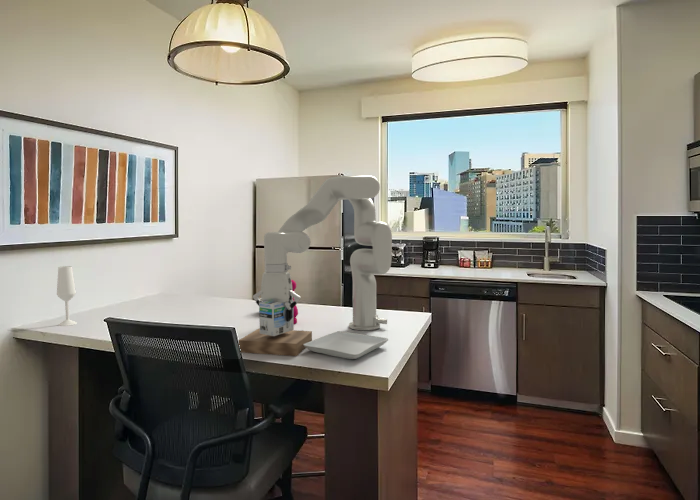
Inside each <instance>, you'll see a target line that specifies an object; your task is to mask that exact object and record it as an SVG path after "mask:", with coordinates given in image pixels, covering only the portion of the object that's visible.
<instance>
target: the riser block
mask: <svg viewBox="0 0 700 500" xmlns="http://www.w3.org/2000/svg"><path fill="white" fill-rule="evenodd" d="M310 341H313V331H311V330H291V331H288V332H285V333H282V334H279V335H276V336H270V335H265V334H260V327H259V328H258V329H256V330H254V331H252V332H250V333H249V334H247V335H245V336H243V337H242V338H240V339H238V346H239V345H240V349H241V352H240V353H248V354H257V355H258V354H260V355H263V354H264V355H272V356H273V355H274V356H275V355H276V356H291V357H298V356H299V355H300V354H301V353H302V352H303V351H304V350H305V349H306V348H305V347H304V345H303V344H305V343H308V342H310Z"/></svg>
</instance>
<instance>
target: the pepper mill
mask: <svg viewBox="0 0 700 500" xmlns="http://www.w3.org/2000/svg"><path fill="white" fill-rule="evenodd" d="M291 282H292V290H293V292H294V293H296V289H297V282H296V281H295V280H294V279H291ZM293 302H294V297H293ZM293 313H294V314H293V315H294V325H296V324H297V323H298V319H297V317H298V314H299V310H298V307H297V304H296V305H295V306H294V308H293Z"/></svg>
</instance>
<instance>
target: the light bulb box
mask: <svg viewBox="0 0 700 500" xmlns="http://www.w3.org/2000/svg"><path fill="white" fill-rule="evenodd" d="M290 301H291V303H293V299H292V300H290ZM286 310H287V307H286V305H285V304H284V303H282V302H269V301H263V302H259V306H258V311H259V313H258V315H259V317H258V318H259V320H258V321H259V328H260V334H265V335H270V336H276V335H279V334H282V333H285V332H288V331H291V330H294V327H295V326H294V325H295V324H294V315H293V317H292V319H291V320H290V321H289V322H287V321H286ZM292 313H293V308H292ZM293 314H294V313H293Z"/></svg>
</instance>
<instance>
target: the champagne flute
mask: <svg viewBox="0 0 700 500" xmlns="http://www.w3.org/2000/svg"><path fill="white" fill-rule="evenodd" d="M74 277H75V276H74V270H73V266H70V265H67V266H66V265H63V266H58V267H57V283H56V284H57V285H56V286H57V287H56V295H57V297H58V298H59V299H61V300H62V301H64V303H65V306H64V307H65V309H64V311H65V319H64V320H63V321H61V322H60V323H59V324H58V326H60V327H66V326H67V327H68V326H73V325H77V324H78V322H77V321H74V320H71V319H70V308H69V307H70V305H69V301H70V300H72V299H73V298H74V297H75V296H76V294H77V291H76V284H75V278H74Z"/></svg>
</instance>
